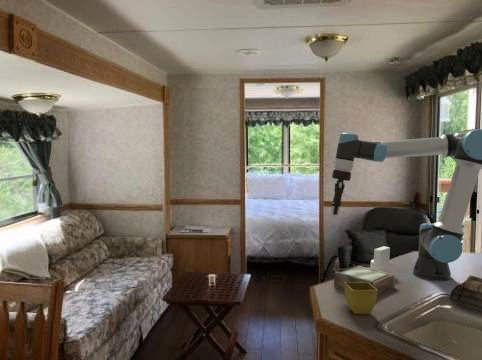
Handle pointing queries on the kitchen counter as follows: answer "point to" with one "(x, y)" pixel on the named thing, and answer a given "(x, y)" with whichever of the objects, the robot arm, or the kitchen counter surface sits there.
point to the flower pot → (360, 296)
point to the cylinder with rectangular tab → (382, 260)
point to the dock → (365, 278)
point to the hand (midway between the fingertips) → (333, 219)
